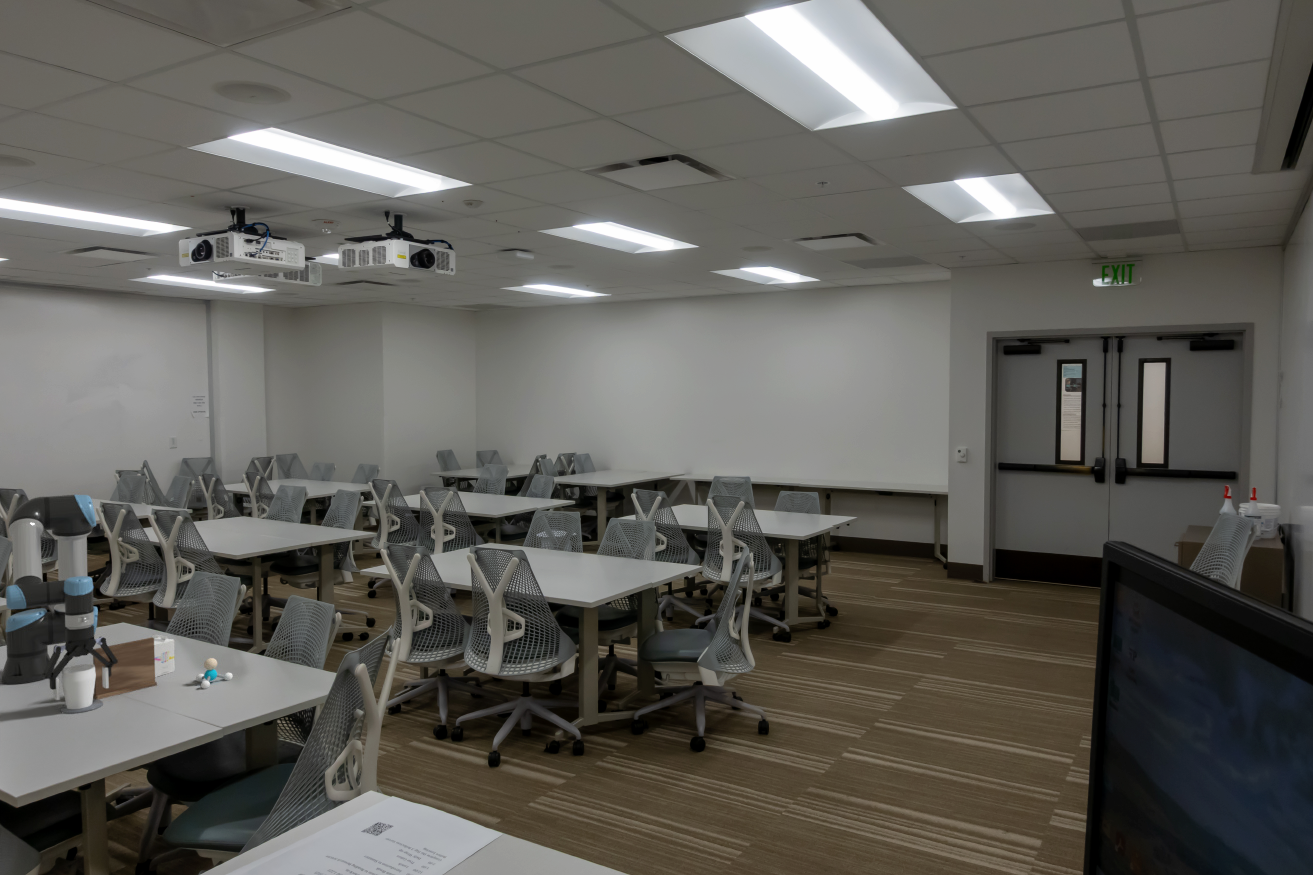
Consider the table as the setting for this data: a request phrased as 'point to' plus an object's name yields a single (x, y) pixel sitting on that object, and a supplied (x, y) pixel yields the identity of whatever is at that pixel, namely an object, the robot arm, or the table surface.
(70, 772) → the table surface
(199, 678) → the molecule model
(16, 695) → the table surface
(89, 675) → the cup
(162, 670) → the ink box
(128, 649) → the brown wooden slab
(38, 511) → the robot arm
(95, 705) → the grey smooth rounded part
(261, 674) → the table surface
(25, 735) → the table surface
